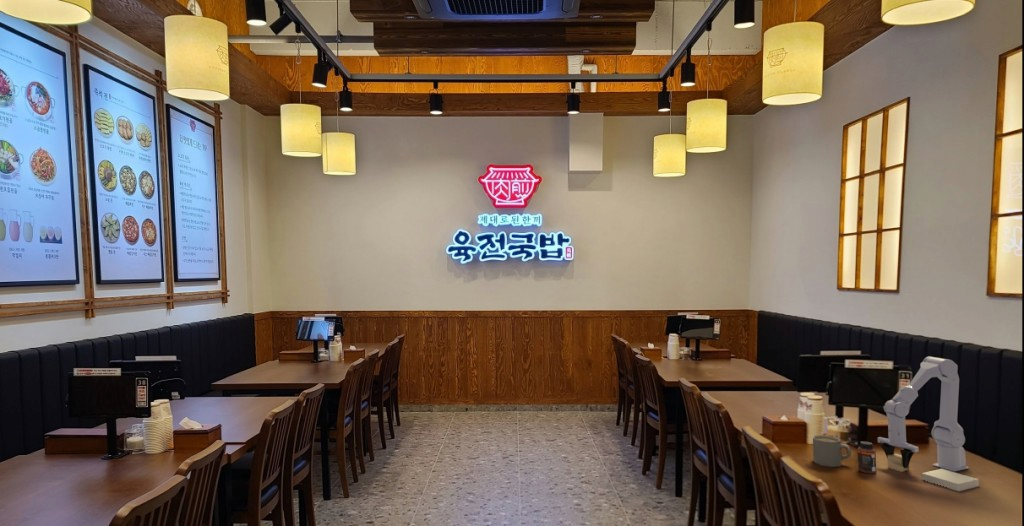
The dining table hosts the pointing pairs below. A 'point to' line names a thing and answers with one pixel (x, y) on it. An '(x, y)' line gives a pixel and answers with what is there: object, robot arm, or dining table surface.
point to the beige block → (950, 479)
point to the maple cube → (896, 462)
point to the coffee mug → (829, 451)
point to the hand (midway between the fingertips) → (898, 465)
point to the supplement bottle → (866, 458)
